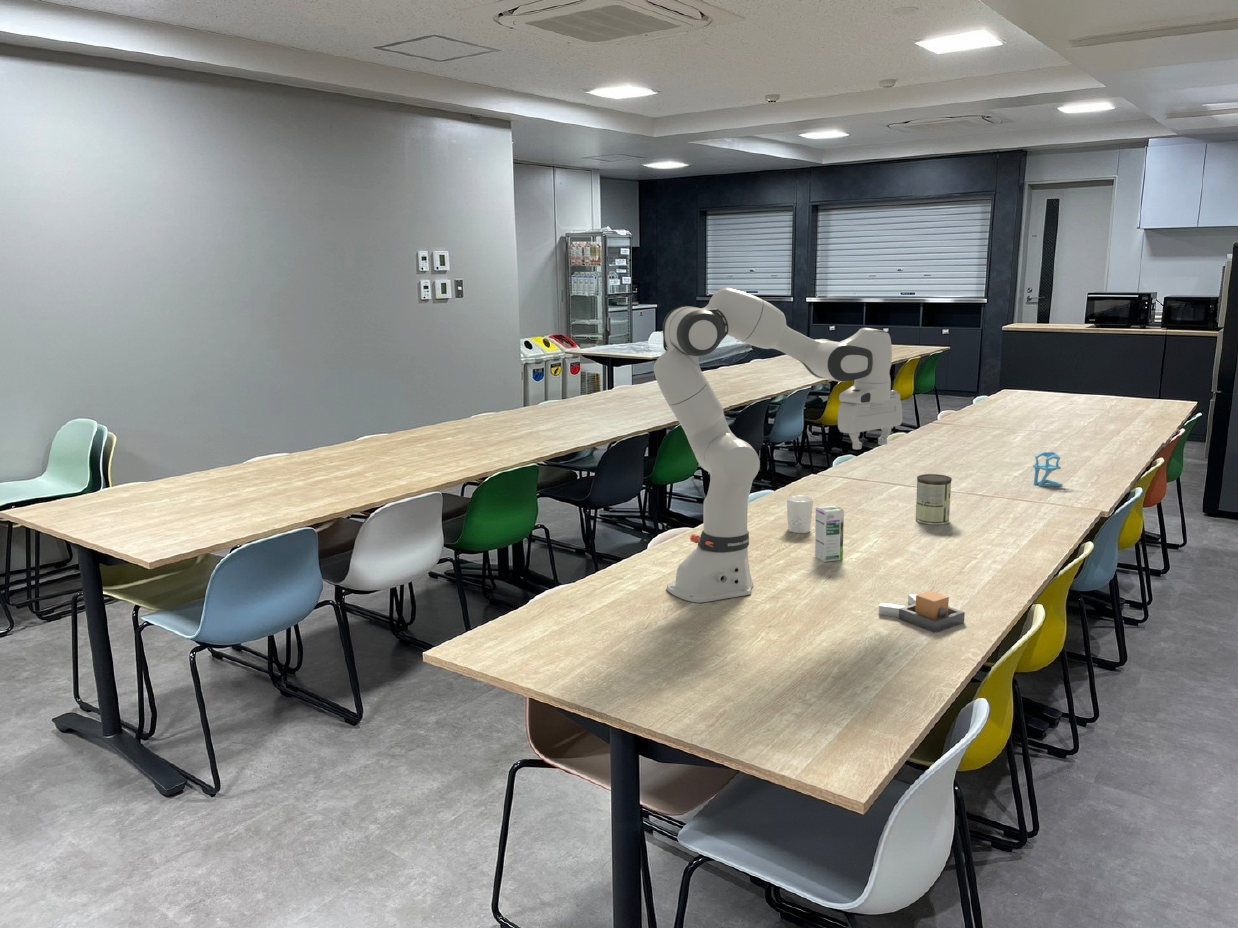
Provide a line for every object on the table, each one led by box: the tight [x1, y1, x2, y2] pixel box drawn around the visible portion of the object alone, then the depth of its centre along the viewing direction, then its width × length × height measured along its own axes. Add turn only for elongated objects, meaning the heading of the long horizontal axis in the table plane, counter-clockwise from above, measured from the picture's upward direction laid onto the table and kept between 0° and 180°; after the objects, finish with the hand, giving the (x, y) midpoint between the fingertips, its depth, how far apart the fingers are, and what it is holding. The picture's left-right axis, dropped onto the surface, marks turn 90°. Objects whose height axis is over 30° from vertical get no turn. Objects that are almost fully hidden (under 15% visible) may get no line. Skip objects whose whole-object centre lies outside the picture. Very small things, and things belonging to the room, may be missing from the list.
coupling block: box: [915, 590, 950, 619], centre depth 205 cm, size 5×7×6 cm
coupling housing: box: [878, 593, 965, 633], centre depth 207 cm, size 13×16×2 cm
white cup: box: [786, 495, 814, 534], centre depth 277 cm, size 8×8×10 cm
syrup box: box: [814, 505, 845, 563], centre depth 249 cm, size 6×6×14 cm
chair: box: [1032, 451, 1063, 488], centre depth 328 cm, size 8×8×12 cm
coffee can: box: [915, 473, 953, 526], centre depth 284 cm, size 10×10×14 cm
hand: (869, 446), depth 230 cm, fingers open, 8 cm apart
